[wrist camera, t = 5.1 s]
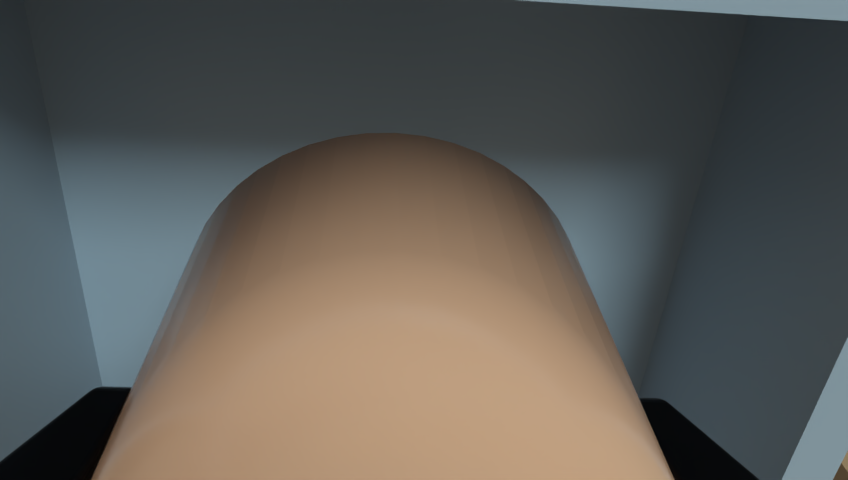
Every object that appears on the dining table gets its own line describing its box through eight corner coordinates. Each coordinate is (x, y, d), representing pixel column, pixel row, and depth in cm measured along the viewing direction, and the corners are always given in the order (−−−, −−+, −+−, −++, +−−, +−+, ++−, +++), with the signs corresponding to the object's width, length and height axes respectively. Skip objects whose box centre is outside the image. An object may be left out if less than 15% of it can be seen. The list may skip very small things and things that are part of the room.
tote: (604, 568, 21) (670, 795, 16) (119, 566, 20) (34, 808, 15) (813, -103, 12) (1103, -47, 7) (-46, -169, 11) (-390, -155, 6)
